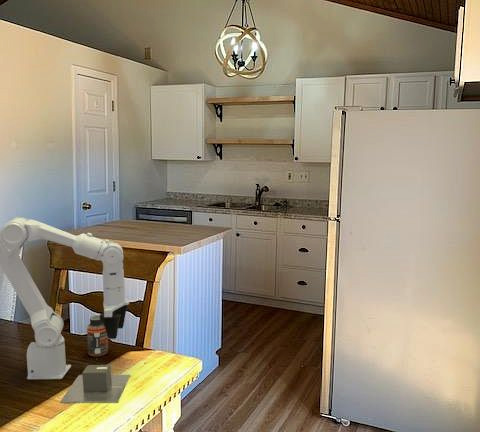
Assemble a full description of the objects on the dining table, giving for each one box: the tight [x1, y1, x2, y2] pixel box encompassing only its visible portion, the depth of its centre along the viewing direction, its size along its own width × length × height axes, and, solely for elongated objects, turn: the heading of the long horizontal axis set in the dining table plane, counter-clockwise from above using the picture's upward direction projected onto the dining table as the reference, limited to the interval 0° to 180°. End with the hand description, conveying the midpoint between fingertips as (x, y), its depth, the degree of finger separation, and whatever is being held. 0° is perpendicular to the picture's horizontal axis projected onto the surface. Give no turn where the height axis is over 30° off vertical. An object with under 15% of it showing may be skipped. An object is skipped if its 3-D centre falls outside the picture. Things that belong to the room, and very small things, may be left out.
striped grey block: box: [81, 364, 112, 392], centre depth 127 cm, size 6×4×5 cm
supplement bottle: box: [86, 315, 109, 358], centre depth 148 cm, size 6×6×11 cm
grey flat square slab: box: [59, 374, 131, 404], centre depth 127 cm, size 14×14×3 cm
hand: (115, 333), depth 139 cm, fingers open, 7 cm apart
